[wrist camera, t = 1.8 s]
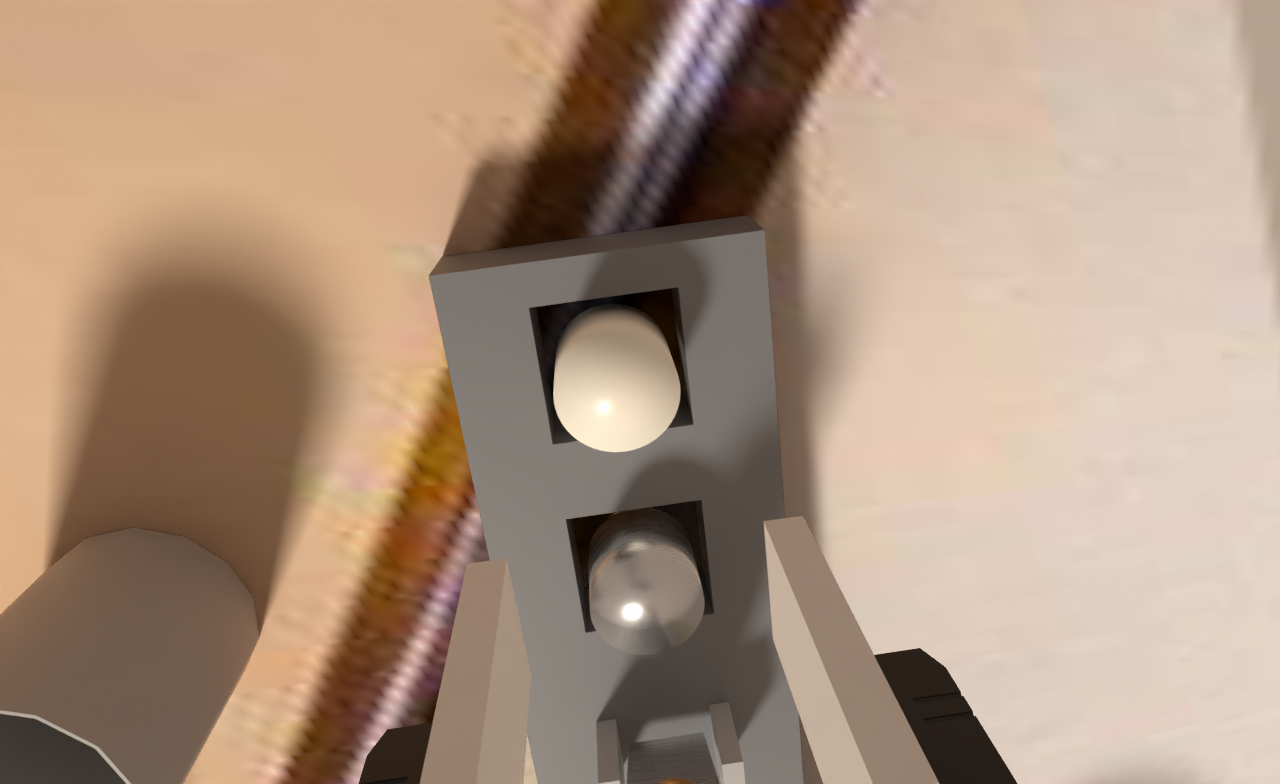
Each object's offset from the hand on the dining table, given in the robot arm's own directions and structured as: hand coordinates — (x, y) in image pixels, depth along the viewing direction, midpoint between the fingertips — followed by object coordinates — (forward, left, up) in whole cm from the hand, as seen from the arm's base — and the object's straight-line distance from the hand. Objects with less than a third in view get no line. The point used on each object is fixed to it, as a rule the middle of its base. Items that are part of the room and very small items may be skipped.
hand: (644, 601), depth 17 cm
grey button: (+8, 0, -15) cm, 17 cm away
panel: (+11, 0, -17) cm, 20 cm away
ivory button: (0, 0, -15) cm, 15 cm away
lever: (+16, 0, -13) cm, 20 cm away
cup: (+9, -20, -17) cm, 28 cm away
